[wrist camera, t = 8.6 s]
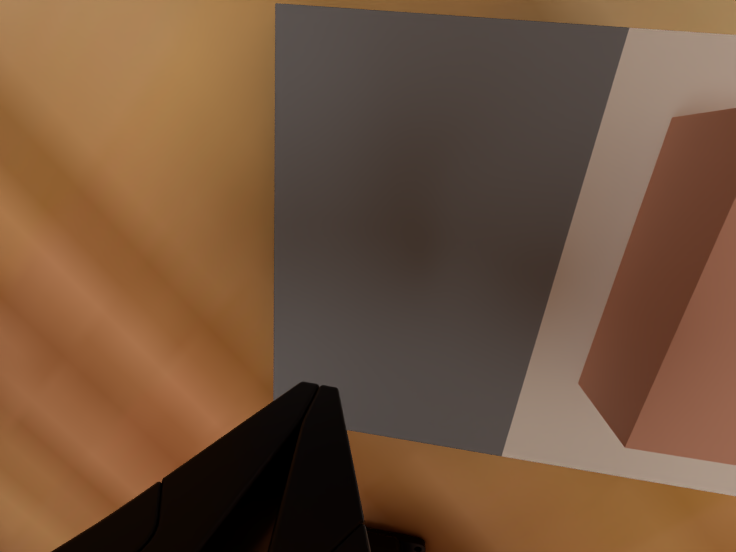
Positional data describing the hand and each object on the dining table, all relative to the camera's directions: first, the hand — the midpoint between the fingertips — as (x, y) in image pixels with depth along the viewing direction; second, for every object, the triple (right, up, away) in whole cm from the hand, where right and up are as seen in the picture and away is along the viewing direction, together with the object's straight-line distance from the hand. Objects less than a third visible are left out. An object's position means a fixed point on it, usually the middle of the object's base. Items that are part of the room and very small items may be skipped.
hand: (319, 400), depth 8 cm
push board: (+11, +2, +9) cm, 14 cm away
